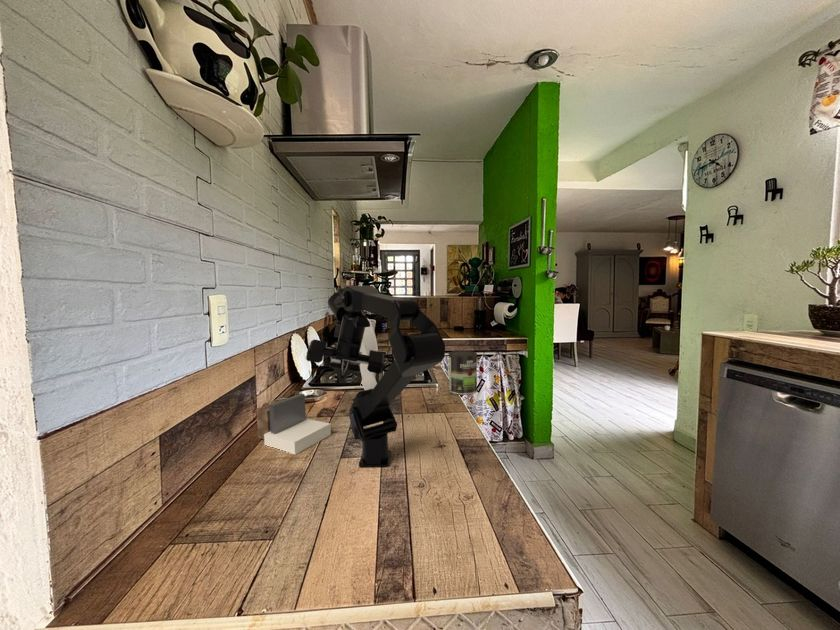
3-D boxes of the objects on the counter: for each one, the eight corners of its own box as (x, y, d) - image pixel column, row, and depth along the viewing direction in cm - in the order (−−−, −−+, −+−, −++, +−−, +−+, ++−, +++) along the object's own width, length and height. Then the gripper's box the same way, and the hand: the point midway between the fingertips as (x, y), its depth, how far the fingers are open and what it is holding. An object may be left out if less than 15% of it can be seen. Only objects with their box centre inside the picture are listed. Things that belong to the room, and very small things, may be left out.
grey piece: (305, 419, 93) (304, 394, 93) (274, 433, 85) (273, 405, 84) (286, 415, 97) (285, 390, 96) (254, 428, 88) (253, 401, 87)
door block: (330, 434, 91) (330, 423, 91) (295, 454, 80) (294, 442, 80) (302, 427, 96) (301, 417, 96) (264, 445, 85) (264, 434, 85)
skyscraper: (364, 393, 126) (361, 317, 124) (355, 388, 133) (352, 315, 131) (384, 389, 131) (382, 315, 129) (375, 384, 138) (373, 314, 135)
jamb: (293, 430, 94) (292, 401, 94) (268, 441, 87) (267, 411, 87) (283, 427, 96) (281, 399, 96) (258, 438, 89) (256, 408, 89)
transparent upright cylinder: (482, 392, 124) (482, 353, 123) (457, 396, 120) (457, 356, 118) (467, 385, 133) (467, 349, 132) (444, 389, 129) (443, 351, 128)
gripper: (390, 323, 92) (377, 368, 99) (318, 308, 88) (311, 356, 96) (389, 347, 82) (375, 395, 89) (309, 332, 79) (302, 383, 86)
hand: (341, 381), depth 90 cm, fingers closed
